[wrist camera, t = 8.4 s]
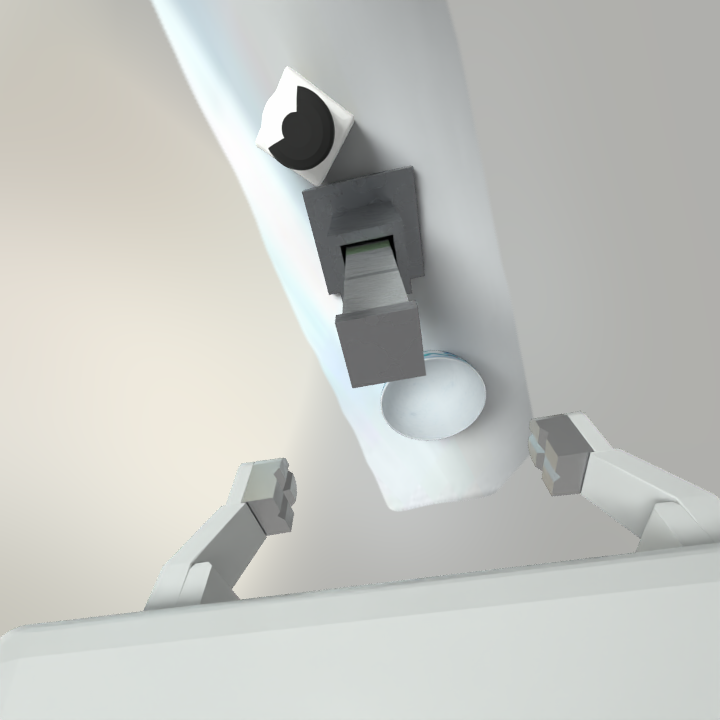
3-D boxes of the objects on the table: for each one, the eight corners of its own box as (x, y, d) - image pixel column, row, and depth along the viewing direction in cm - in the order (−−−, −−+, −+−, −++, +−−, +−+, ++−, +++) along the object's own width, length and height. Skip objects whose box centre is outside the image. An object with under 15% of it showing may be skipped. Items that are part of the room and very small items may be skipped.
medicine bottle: (355, 119, 39) (356, 114, 29) (323, 181, 42) (314, 195, 32) (297, 75, 37) (275, 52, 27) (268, 143, 40) (239, 145, 30)
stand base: (303, 190, 43) (285, 209, 31) (410, 165, 41) (432, 176, 30) (329, 290, 49) (322, 337, 38) (422, 272, 48) (444, 314, 37)
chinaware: (469, 322, 52) (486, 348, 46) (472, 400, 60) (487, 432, 54) (369, 340, 54) (372, 368, 47) (385, 414, 62) (389, 447, 55)
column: (343, 232, 38) (335, 322, 20) (386, 223, 38) (417, 307, 19) (352, 272, 41) (352, 388, 22) (392, 264, 40) (426, 375, 22)
